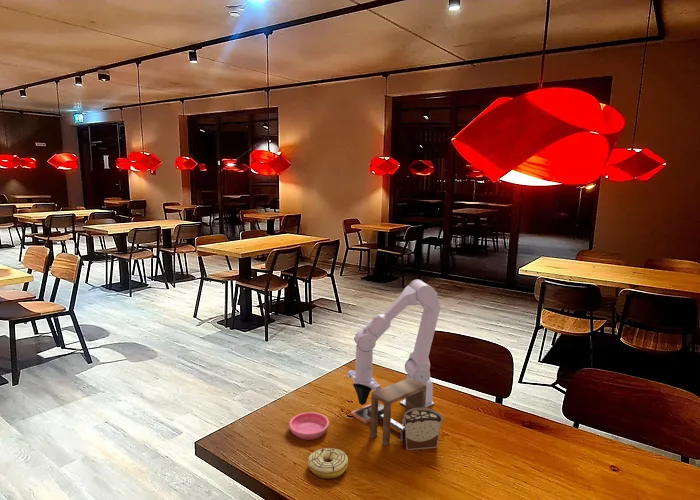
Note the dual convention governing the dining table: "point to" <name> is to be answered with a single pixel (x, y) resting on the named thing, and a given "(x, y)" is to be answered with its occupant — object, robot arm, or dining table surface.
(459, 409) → the dining table surface
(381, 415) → the grey piece
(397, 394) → the tunnel
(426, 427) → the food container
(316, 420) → the pink shallow round bowl
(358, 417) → the picture frame
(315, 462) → the decorated donut
